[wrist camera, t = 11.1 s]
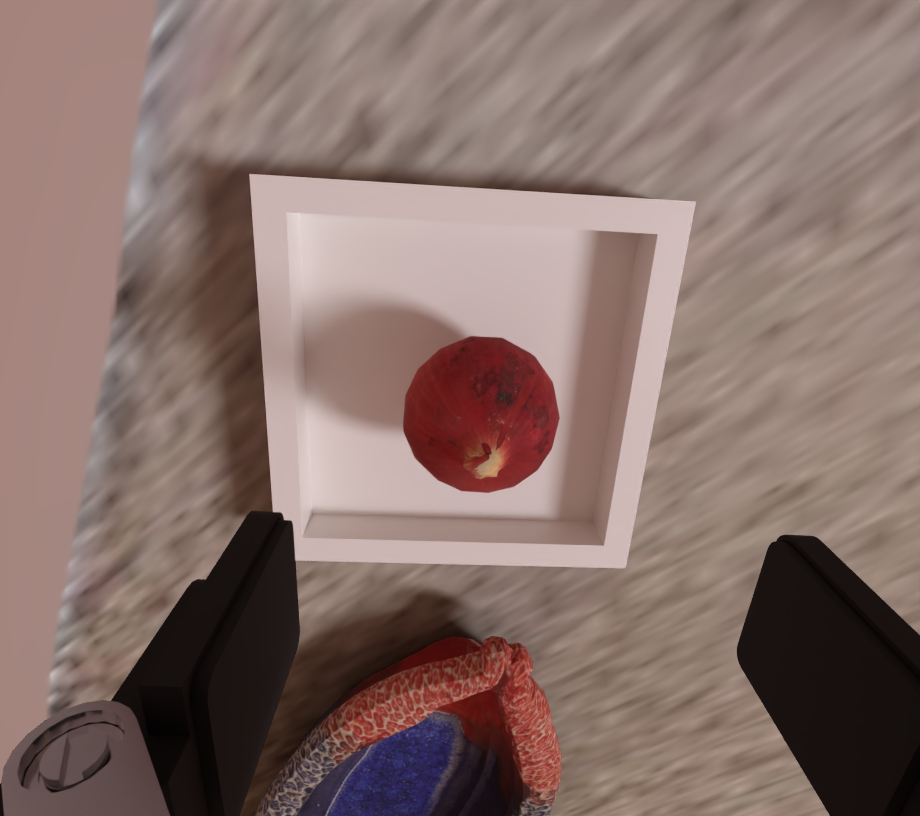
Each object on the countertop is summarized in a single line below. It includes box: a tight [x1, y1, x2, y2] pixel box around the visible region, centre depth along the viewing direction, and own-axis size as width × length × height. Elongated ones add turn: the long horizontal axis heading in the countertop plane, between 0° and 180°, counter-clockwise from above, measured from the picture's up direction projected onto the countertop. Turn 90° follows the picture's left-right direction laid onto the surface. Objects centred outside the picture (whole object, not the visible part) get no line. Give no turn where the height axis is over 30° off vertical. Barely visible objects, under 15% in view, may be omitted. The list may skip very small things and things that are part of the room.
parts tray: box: [249, 174, 696, 568], centre depth 24 cm, size 16×16×3 cm
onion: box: [403, 336, 560, 493], centre depth 20 cm, size 6×6×8 cm
